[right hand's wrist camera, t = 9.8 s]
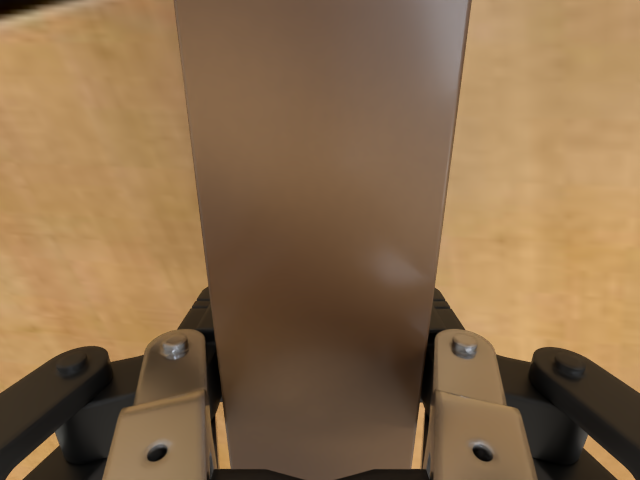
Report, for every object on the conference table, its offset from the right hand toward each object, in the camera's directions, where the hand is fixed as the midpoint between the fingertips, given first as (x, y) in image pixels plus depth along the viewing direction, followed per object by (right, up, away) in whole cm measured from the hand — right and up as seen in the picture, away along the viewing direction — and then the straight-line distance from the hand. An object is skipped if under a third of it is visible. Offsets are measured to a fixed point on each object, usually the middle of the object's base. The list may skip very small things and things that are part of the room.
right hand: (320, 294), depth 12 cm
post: (0, +36, -11) cm, 37 cm away
